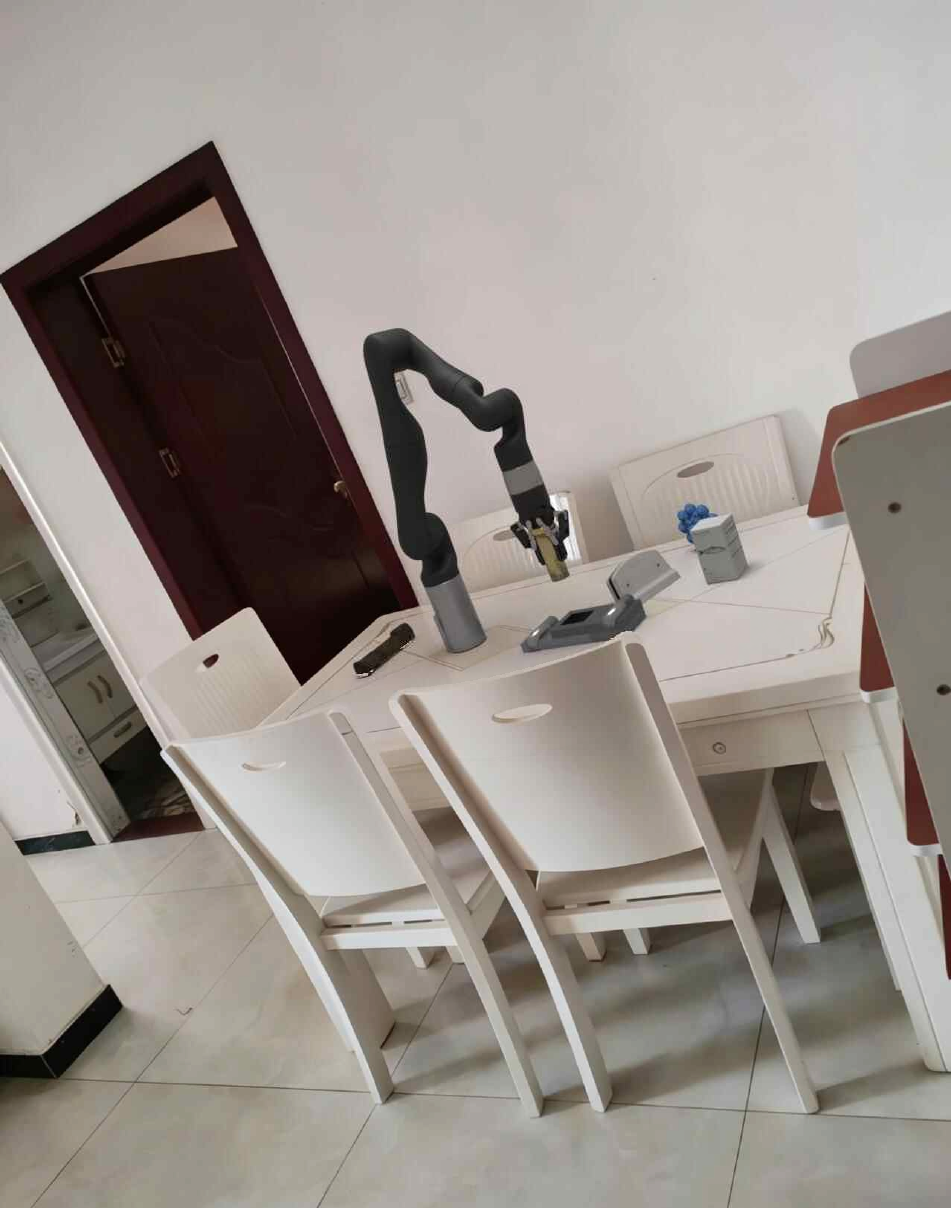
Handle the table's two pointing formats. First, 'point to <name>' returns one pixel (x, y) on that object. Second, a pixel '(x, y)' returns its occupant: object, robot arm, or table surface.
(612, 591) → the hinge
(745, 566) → the supplement box
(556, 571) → the brass pin
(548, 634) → the gray socket base
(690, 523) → the grapes
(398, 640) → the hand tool
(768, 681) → the table surface
